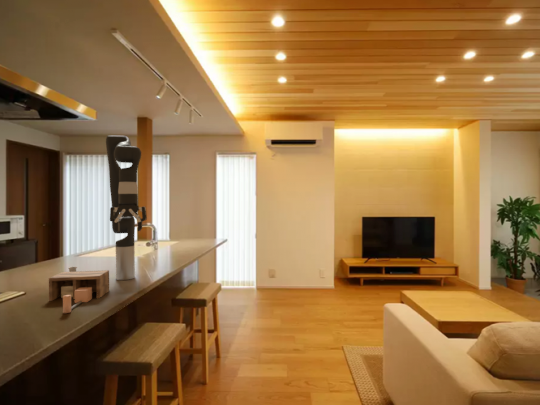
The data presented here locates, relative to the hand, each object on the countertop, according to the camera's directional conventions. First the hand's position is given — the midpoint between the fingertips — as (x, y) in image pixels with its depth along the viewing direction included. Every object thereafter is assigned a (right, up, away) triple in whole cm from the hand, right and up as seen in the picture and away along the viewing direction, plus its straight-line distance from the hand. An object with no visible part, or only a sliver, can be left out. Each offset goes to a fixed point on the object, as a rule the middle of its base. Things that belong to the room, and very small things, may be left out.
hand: (128, 231), depth 138 cm
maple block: (-27, -29, +3) cm, 39 cm away
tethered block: (-16, -28, -11) cm, 34 cm away
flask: (-34, -29, +16) cm, 47 cm away
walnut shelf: (-23, -28, +4) cm, 36 cm away
